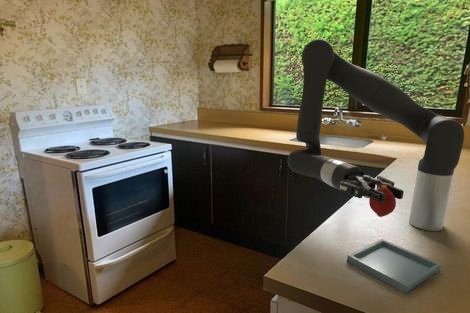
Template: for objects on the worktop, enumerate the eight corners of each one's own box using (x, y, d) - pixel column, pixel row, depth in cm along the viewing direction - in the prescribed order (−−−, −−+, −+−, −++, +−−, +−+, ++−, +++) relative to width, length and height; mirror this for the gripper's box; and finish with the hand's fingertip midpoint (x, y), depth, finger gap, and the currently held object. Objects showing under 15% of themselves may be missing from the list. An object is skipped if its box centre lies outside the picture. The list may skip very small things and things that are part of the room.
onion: (387, 211, 85) (391, 181, 83) (398, 222, 79) (403, 189, 77) (363, 211, 85) (367, 180, 83) (373, 221, 79) (378, 189, 77)
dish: (381, 245, 92) (382, 238, 92) (439, 271, 81) (441, 264, 80) (346, 261, 84) (347, 255, 83) (406, 294, 72) (408, 286, 72)
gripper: (321, 164, 89) (372, 185, 74) (362, 159, 95) (417, 177, 80) (319, 192, 91) (368, 217, 76) (359, 185, 97) (412, 207, 82)
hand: (393, 196), depth 78 cm, fingers closed on onion, 5 cm apart
